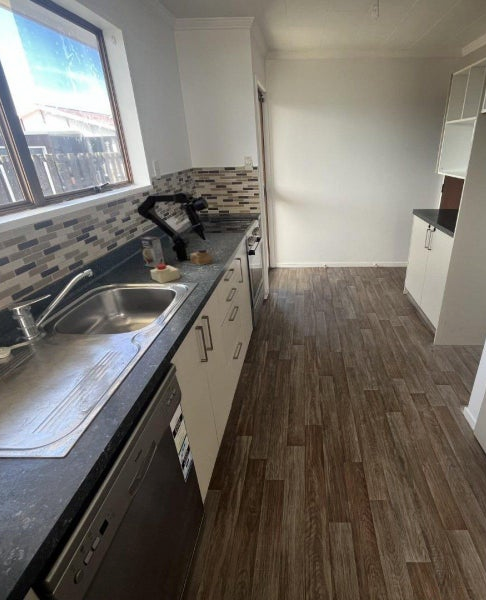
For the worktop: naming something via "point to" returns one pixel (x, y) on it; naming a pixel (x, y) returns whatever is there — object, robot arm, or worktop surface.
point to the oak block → (200, 258)
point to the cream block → (165, 274)
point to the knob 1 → (161, 266)
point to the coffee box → (151, 251)
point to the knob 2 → (202, 250)
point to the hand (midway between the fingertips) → (204, 240)
